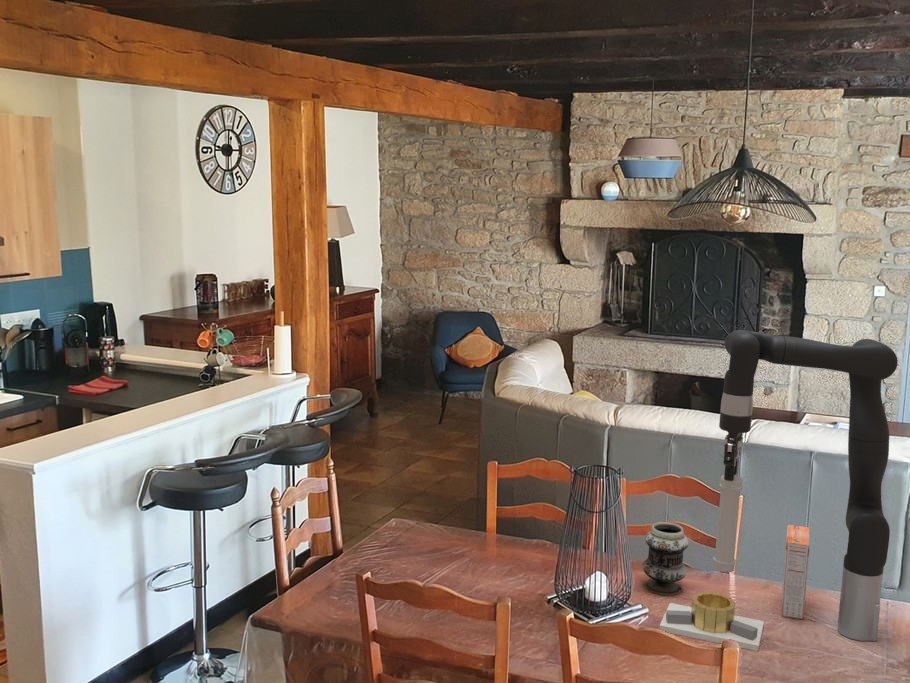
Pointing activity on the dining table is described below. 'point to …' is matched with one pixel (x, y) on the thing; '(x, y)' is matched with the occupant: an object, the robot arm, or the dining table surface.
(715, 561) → the pipe
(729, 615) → the collar
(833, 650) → the dining table surface
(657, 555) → the apothecary jar
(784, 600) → the cracker box
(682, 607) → the shaft base
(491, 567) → the dining table surface
